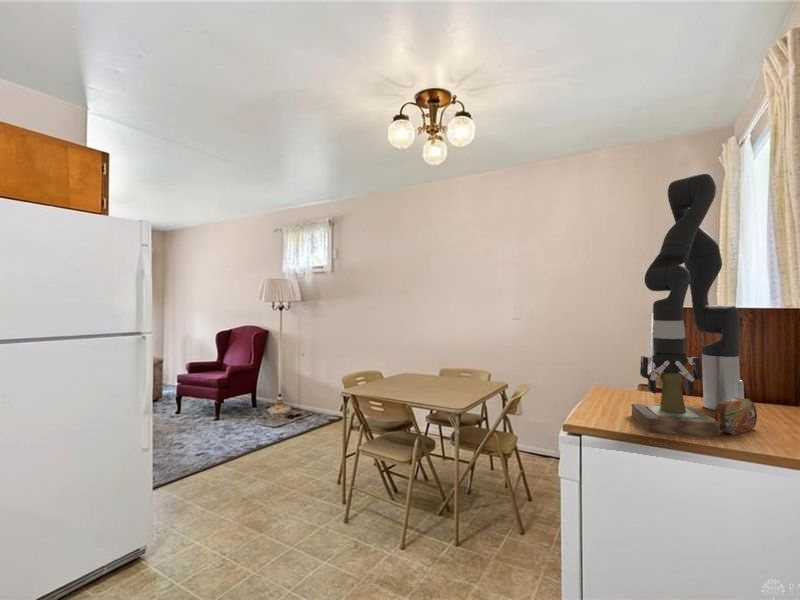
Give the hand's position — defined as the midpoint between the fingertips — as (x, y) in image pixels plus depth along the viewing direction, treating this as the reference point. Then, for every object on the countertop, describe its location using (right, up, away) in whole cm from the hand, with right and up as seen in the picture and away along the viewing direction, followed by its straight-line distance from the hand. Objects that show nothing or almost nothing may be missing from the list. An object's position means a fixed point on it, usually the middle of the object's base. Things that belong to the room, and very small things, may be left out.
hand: (670, 393), depth 108 cm
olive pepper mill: (+1, -5, 0) cm, 5 cm away
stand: (0, -9, 0) cm, 9 cm away
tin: (+13, -9, -6) cm, 17 cm away
